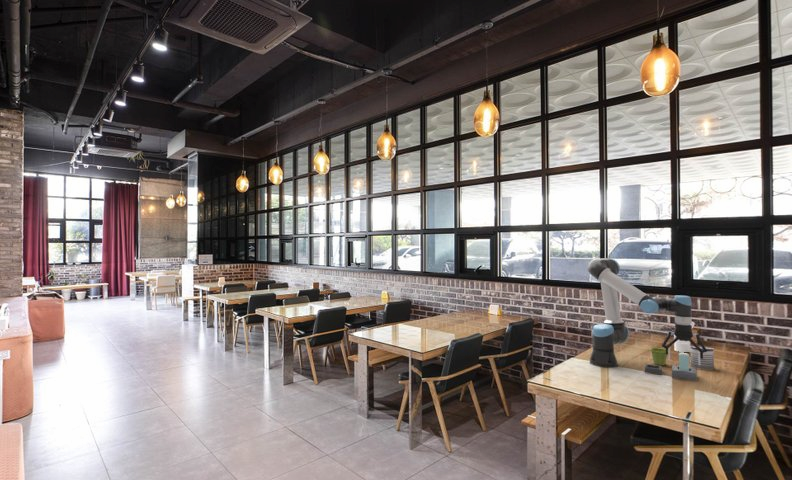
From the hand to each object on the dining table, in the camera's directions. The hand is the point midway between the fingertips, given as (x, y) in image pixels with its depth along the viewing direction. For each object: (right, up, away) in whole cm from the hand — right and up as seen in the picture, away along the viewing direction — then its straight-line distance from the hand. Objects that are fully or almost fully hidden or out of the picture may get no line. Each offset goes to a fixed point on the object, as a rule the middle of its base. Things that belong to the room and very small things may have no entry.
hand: (684, 362), depth 223 cm
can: (+23, -8, +17) cm, 29 cm away
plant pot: (+2, -8, +23) cm, 25 cm away
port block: (0, -8, 0) cm, 8 cm away
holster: (-12, -8, +8) cm, 16 cm away
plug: (0, -8, 0) cm, 8 cm away
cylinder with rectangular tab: (+37, -9, +53) cm, 66 cm away
